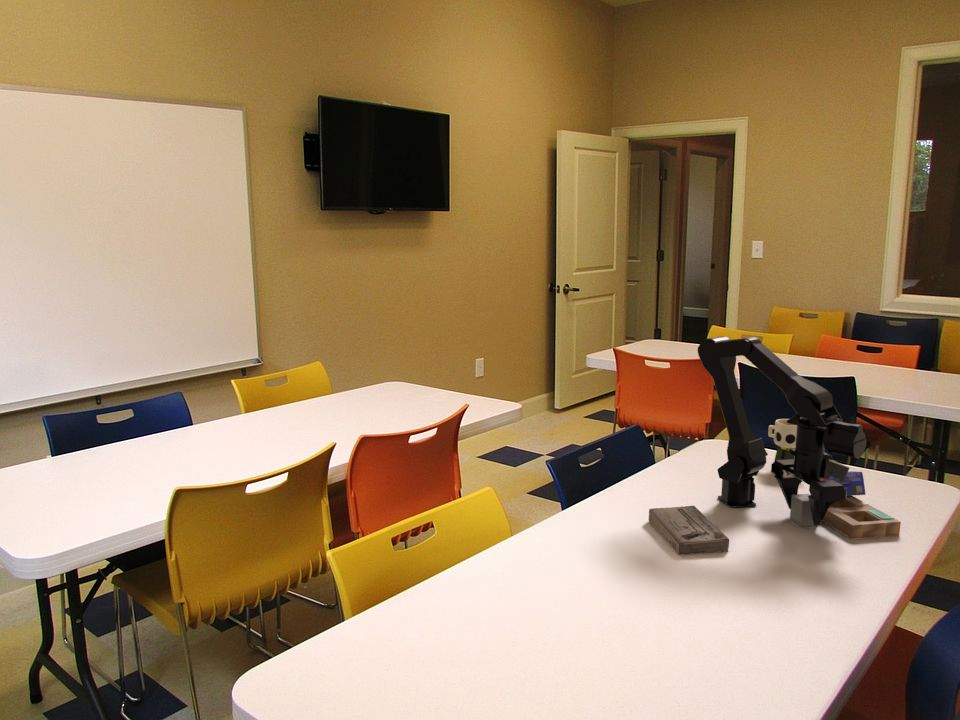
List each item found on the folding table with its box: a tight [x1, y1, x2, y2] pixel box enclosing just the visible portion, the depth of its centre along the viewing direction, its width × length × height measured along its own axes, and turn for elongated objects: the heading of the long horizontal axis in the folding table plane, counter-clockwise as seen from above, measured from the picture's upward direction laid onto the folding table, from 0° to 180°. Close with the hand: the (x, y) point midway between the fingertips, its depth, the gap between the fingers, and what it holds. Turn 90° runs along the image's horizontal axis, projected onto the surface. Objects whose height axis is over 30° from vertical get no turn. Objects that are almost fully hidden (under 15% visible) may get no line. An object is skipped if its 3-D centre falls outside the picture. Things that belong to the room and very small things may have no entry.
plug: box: [789, 493, 819, 529], centre depth 159 cm, size 4×4×6 cm
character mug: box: [767, 418, 797, 462], centre depth 195 cm, size 11×7×13 cm, turn 45°
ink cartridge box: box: [820, 470, 866, 496], centre depth 169 cm, size 10×6×14 cm
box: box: [648, 505, 730, 556], centre depth 153 cm, size 11×17×3 cm, turn 8°
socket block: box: [822, 495, 902, 540], centre depth 160 cm, size 11×16×3 cm
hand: (803, 516), depth 160 cm, fingers open, 9 cm apart
